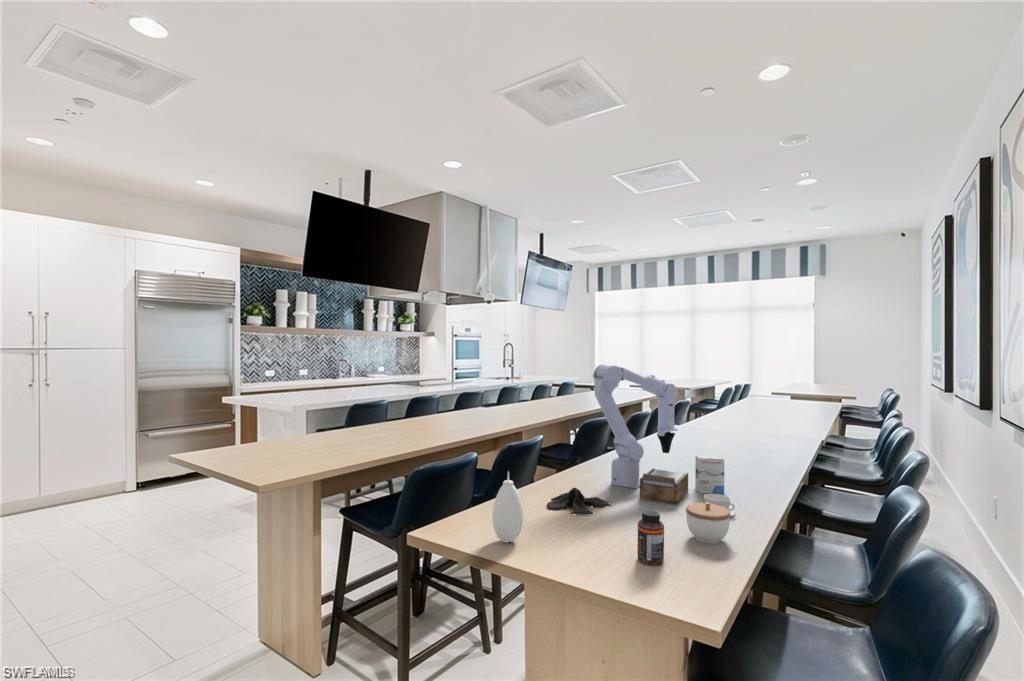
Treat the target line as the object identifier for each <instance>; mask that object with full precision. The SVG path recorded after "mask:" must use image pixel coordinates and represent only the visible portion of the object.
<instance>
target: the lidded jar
mask: <svg viewBox="0 0 1024 681" xmlns="http://www.w3.org/2000/svg"><path fill="white" fill-rule="evenodd" d="M685 512H686V513H685V514H686V524H687V527H688V530H689V531H690V533H691V534H692V535H693V537H694V538H695V539H696V541H698V542H700V543H703V544H704V543H705V544H709V543H710V545H712V544H713V545H714V544H719V543H720V542H721V541H722V540H723V539H725V537H726V536H727V534H728V532H729V528H730V521H731V520H730V518H731V517H730V511H729V510H728V509H726V508H724V507H722V506H719V505H715V504H710V503H708V502H706V503H705V502H694V503H689V504H687V505H686V506H685Z"/></svg>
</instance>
